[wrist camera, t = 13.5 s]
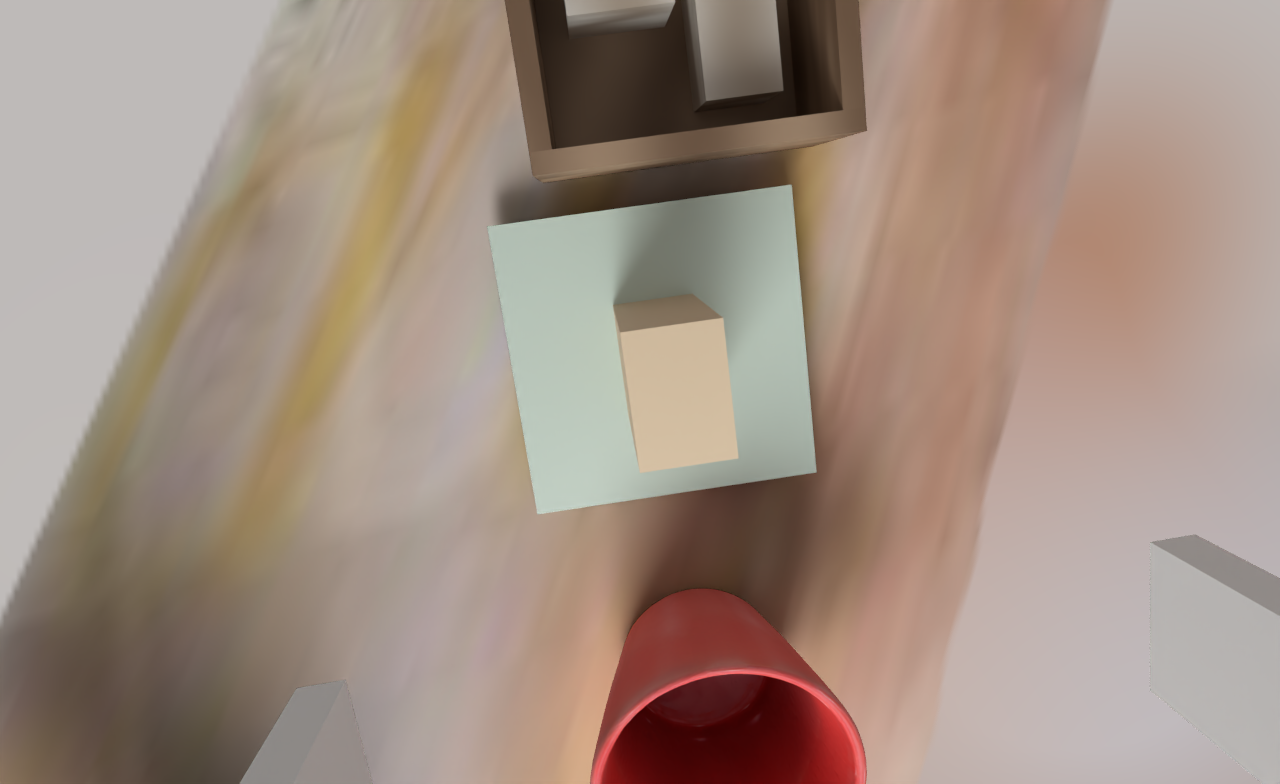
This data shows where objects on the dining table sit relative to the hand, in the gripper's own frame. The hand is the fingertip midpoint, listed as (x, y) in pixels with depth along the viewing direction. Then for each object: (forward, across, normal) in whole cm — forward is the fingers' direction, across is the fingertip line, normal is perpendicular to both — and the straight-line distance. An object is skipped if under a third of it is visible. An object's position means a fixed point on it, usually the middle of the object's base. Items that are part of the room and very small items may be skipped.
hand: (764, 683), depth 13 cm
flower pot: (+25, +1, -15) cm, 29 cm away
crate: (+25, +3, +15) cm, 29 cm away
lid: (+24, +1, +1) cm, 24 cm away
